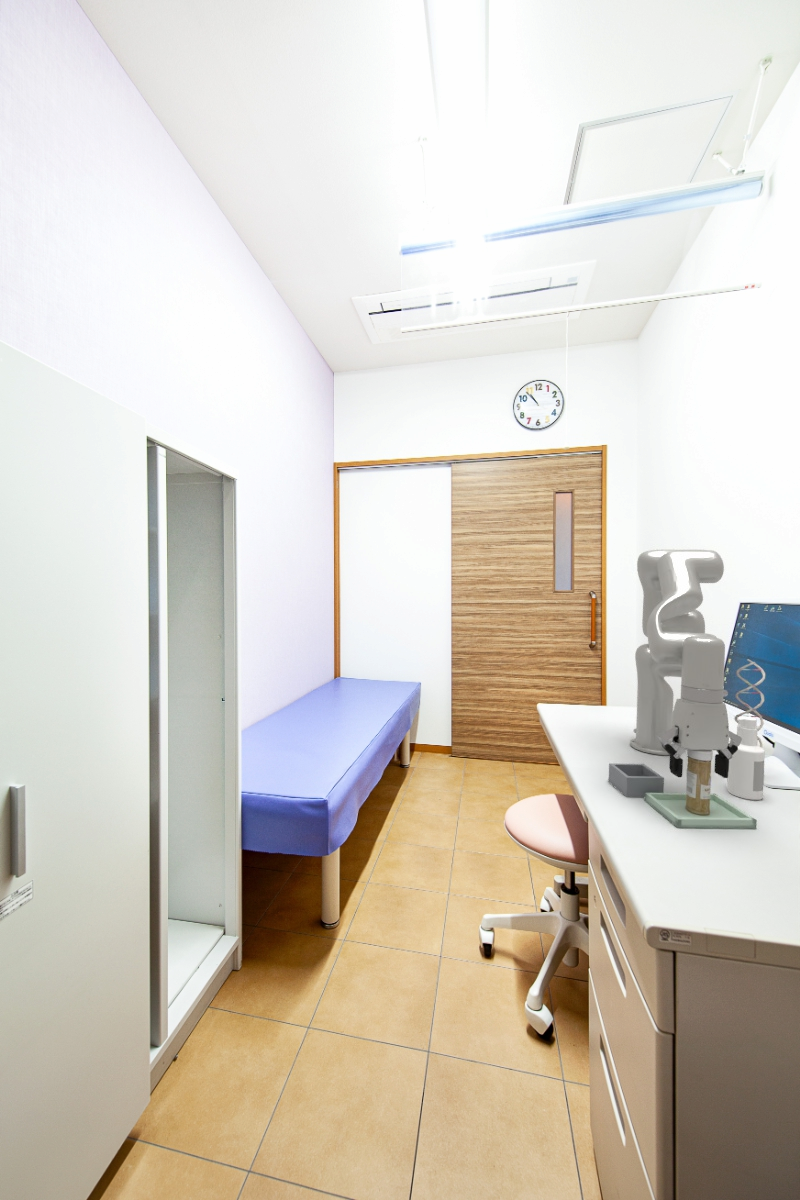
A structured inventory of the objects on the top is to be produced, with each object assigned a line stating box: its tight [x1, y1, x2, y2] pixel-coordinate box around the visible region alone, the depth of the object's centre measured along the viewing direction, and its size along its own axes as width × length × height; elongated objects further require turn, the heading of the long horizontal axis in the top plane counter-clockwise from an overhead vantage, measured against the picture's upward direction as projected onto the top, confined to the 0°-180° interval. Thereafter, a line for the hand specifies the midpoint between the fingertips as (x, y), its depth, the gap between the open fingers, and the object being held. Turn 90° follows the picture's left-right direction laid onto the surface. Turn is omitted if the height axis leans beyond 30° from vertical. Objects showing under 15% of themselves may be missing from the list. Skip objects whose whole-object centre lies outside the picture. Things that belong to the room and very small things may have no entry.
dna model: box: [734, 658, 766, 748], centre depth 120 cm, size 7×6×30 cm
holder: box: [608, 762, 665, 798], centre depth 111 cm, size 9×9×4 cm
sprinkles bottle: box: [685, 750, 714, 815], centre depth 99 cm, size 5×5×13 cm
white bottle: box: [726, 715, 766, 801], centre depth 109 cm, size 7×7×18 cm
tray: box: [644, 792, 758, 830], centre depth 99 cm, size 12×16×2 cm
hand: (698, 775), depth 99 cm, fingers open, 9 cm apart
